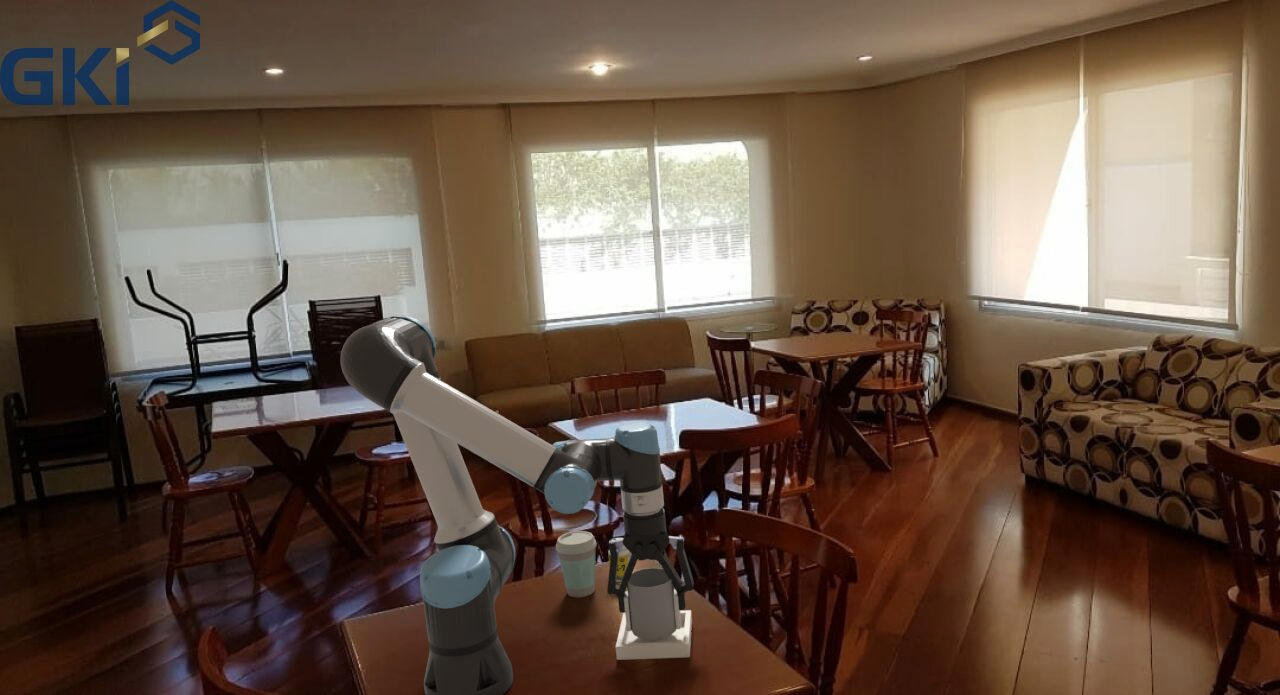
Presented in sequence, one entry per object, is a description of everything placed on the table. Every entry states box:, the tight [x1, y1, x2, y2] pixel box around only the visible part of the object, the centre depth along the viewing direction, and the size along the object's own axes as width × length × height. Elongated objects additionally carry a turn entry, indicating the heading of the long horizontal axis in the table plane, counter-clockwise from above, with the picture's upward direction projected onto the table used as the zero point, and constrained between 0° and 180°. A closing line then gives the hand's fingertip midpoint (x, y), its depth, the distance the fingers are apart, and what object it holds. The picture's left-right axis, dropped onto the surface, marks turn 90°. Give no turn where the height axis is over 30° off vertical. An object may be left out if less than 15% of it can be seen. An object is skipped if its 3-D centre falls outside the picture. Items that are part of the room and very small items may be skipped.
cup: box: [626, 567, 676, 640], centre depth 166 cm, size 8×8×10 cm
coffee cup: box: [555, 530, 598, 598], centre depth 190 cm, size 8×8×12 cm
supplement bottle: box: [607, 537, 631, 583], centre depth 195 cm, size 5×5×8 cm
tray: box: [615, 609, 693, 661], centre depth 167 cm, size 13×13×2 cm
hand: (654, 626), depth 166 cm, fingers closed on cup, 8 cm apart
